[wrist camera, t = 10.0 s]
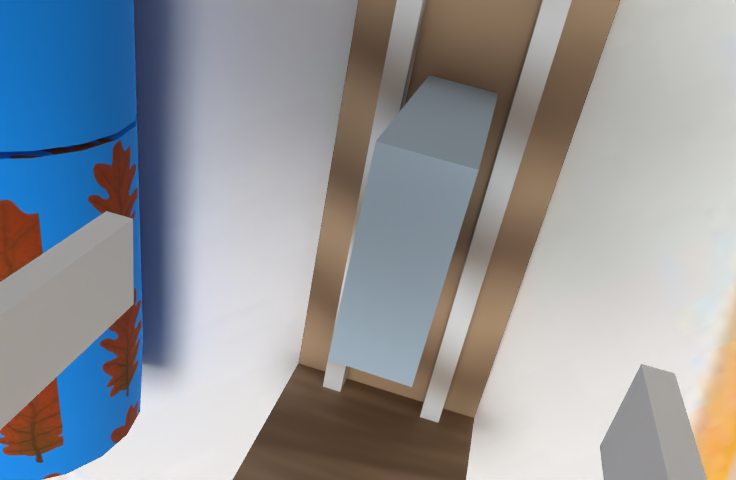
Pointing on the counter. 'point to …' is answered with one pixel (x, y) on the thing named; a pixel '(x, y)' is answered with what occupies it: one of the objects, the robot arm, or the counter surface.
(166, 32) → the counter surface
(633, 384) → the robot arm
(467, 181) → the grey rectangular block
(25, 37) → the thermos
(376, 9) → the track board
